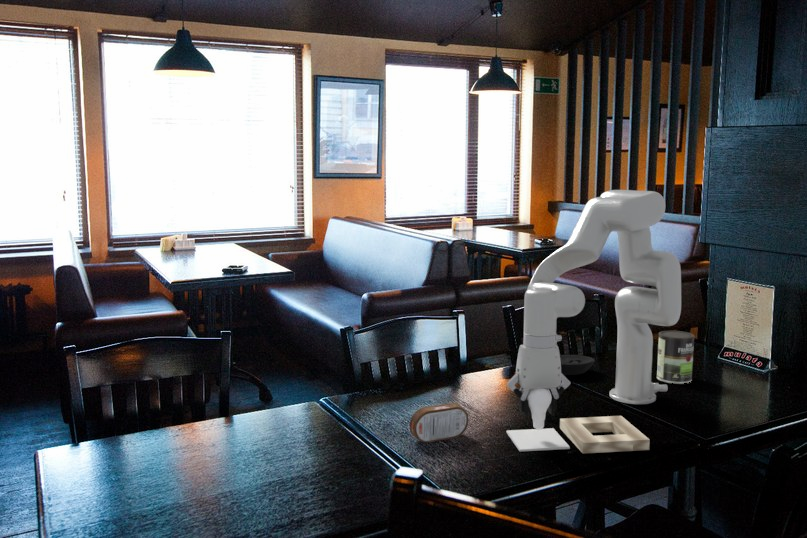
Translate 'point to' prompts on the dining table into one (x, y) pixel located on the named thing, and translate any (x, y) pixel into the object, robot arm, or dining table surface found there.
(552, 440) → the rubber mat
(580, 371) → the oil lamp
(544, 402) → the lightbulb
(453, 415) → the tin
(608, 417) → the plate
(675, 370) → the coffee can
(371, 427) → the dining table surface
